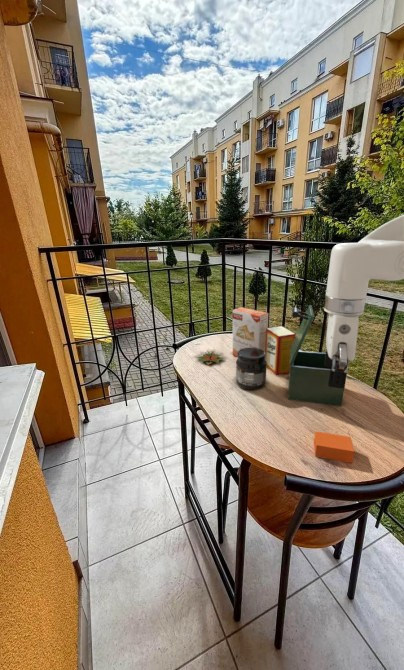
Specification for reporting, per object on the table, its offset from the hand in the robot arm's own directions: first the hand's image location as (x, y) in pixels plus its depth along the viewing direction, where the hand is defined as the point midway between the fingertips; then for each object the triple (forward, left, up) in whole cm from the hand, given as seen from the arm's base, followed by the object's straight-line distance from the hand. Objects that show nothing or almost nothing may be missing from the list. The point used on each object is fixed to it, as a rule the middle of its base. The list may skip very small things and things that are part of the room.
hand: (333, 376), depth 65 cm
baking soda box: (+28, -28, -19) cm, 44 cm away
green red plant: (+54, -18, -19) cm, 60 cm away
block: (-3, +3, -19) cm, 19 cm away
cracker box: (+42, -29, -19) cm, 55 cm away
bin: (+11, -20, -19) cm, 30 cm away
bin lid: (+16, -18, +1) cm, 24 cm away
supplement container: (+30, -12, -19) cm, 38 cm away
